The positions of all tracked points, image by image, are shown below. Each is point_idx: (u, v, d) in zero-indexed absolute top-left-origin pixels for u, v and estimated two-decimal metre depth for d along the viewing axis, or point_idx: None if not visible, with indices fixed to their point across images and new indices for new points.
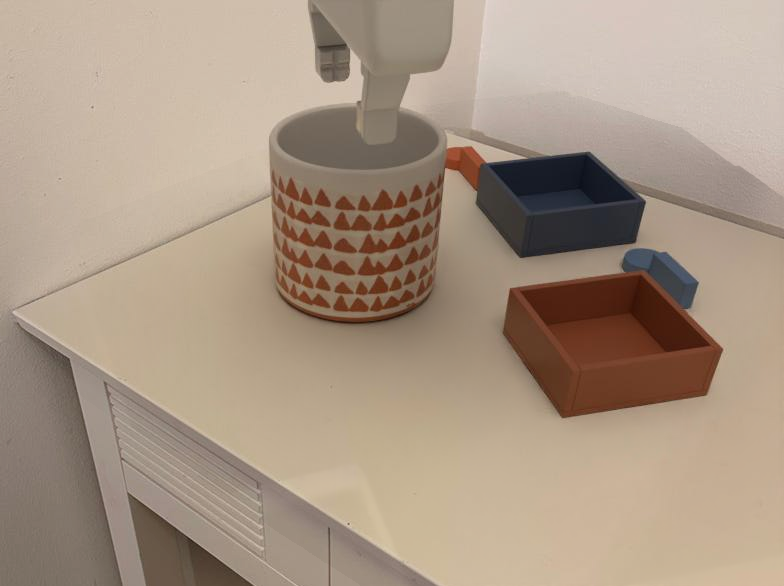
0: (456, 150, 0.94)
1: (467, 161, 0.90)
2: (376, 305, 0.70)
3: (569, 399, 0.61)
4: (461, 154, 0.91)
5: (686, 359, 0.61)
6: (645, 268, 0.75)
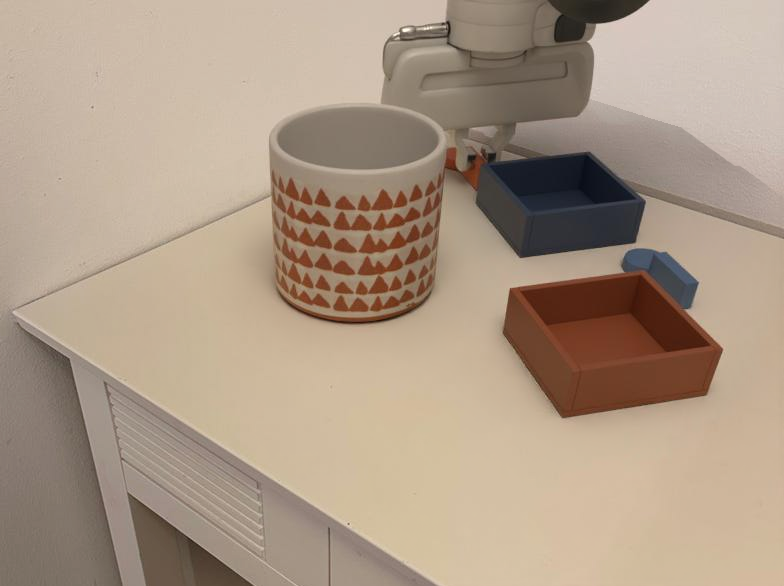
0: (456, 150, 0.94)
1: None
2: (376, 305, 0.70)
3: (569, 399, 0.61)
4: None
5: (686, 359, 0.61)
6: (645, 268, 0.75)
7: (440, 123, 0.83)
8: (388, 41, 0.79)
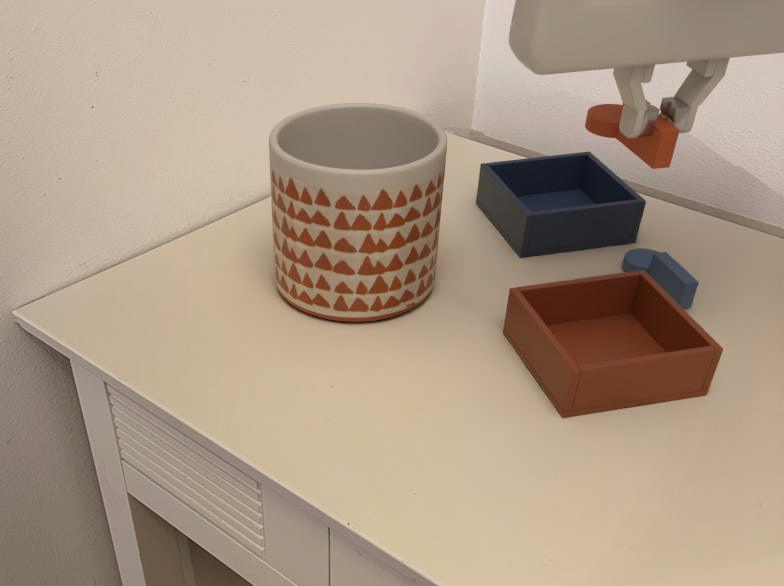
0: (609, 108, 0.61)
1: None
2: (376, 305, 0.70)
3: (569, 399, 0.61)
4: None
5: (686, 359, 0.61)
6: (645, 268, 0.75)
7: (613, 53, 0.50)
8: None
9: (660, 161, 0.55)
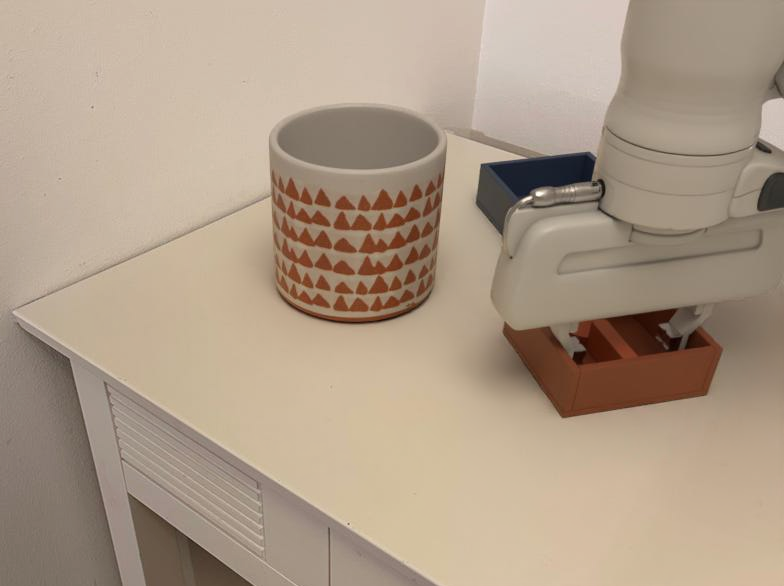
0: None
1: (602, 344, 0.65)
2: (376, 305, 0.70)
3: (569, 399, 0.61)
4: (592, 330, 0.66)
5: (686, 359, 0.61)
6: None
7: (579, 313, 0.59)
8: (514, 209, 0.54)
9: None
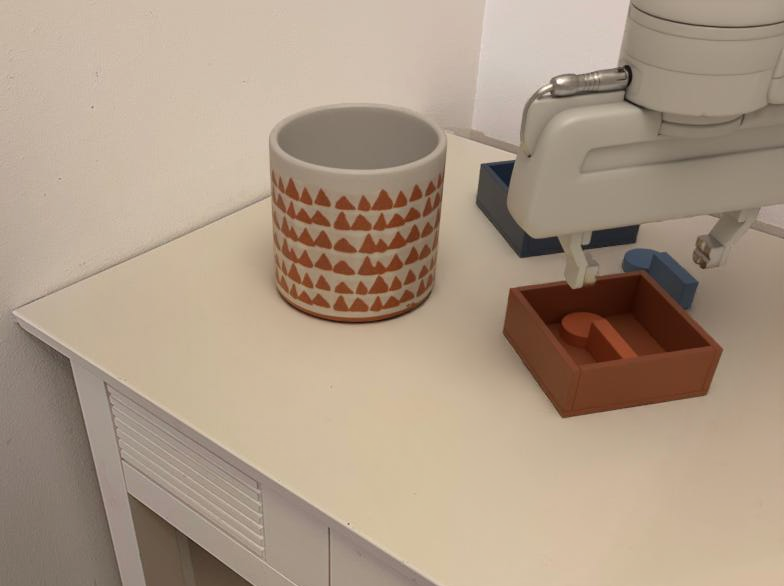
0: (580, 317, 0.69)
1: (602, 344, 0.65)
2: (376, 305, 0.70)
3: (569, 399, 0.61)
4: (592, 330, 0.66)
5: (686, 359, 0.61)
6: (645, 268, 0.75)
7: (604, 218, 0.54)
8: (533, 99, 0.50)
9: None
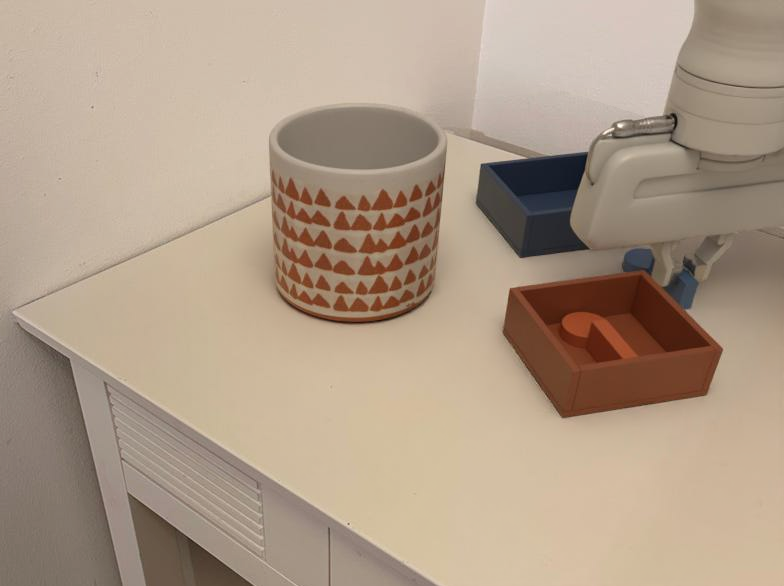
0: (580, 317, 0.69)
1: (602, 344, 0.65)
2: (376, 305, 0.70)
3: (569, 399, 0.61)
4: (592, 330, 0.66)
5: (686, 359, 0.61)
6: (645, 268, 0.75)
7: (650, 235, 0.67)
8: (598, 139, 0.62)
9: None
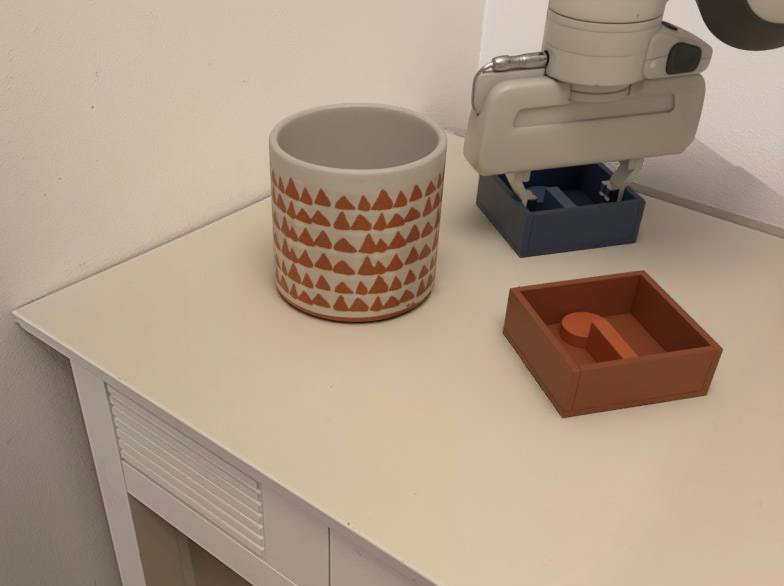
0: (580, 317, 0.69)
1: (602, 344, 0.65)
2: (376, 305, 0.70)
3: (569, 399, 0.61)
4: (592, 330, 0.66)
5: (686, 359, 0.61)
6: (539, 202, 0.84)
7: (532, 162, 0.75)
8: (479, 73, 0.71)
9: None
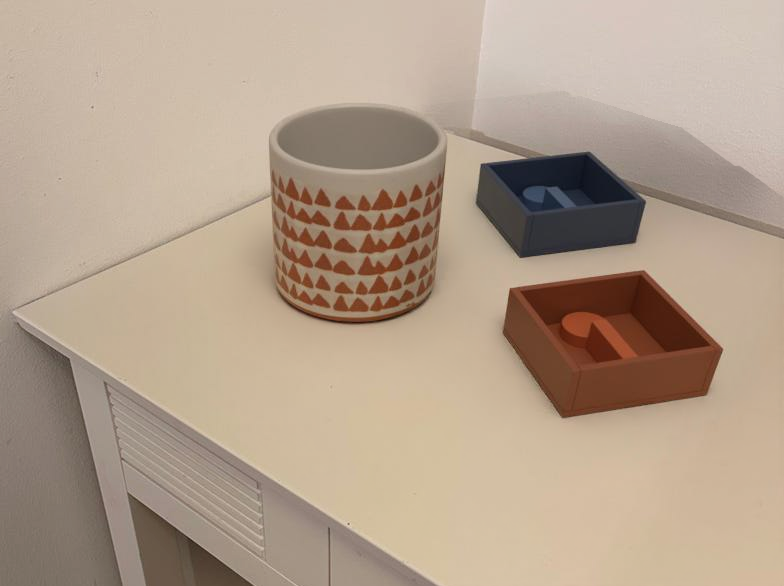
0: (580, 317, 0.69)
1: (602, 344, 0.65)
2: (376, 305, 0.70)
3: (569, 399, 0.61)
4: (592, 330, 0.66)
5: (686, 359, 0.61)
6: (539, 202, 0.84)
7: None
8: None
9: None
